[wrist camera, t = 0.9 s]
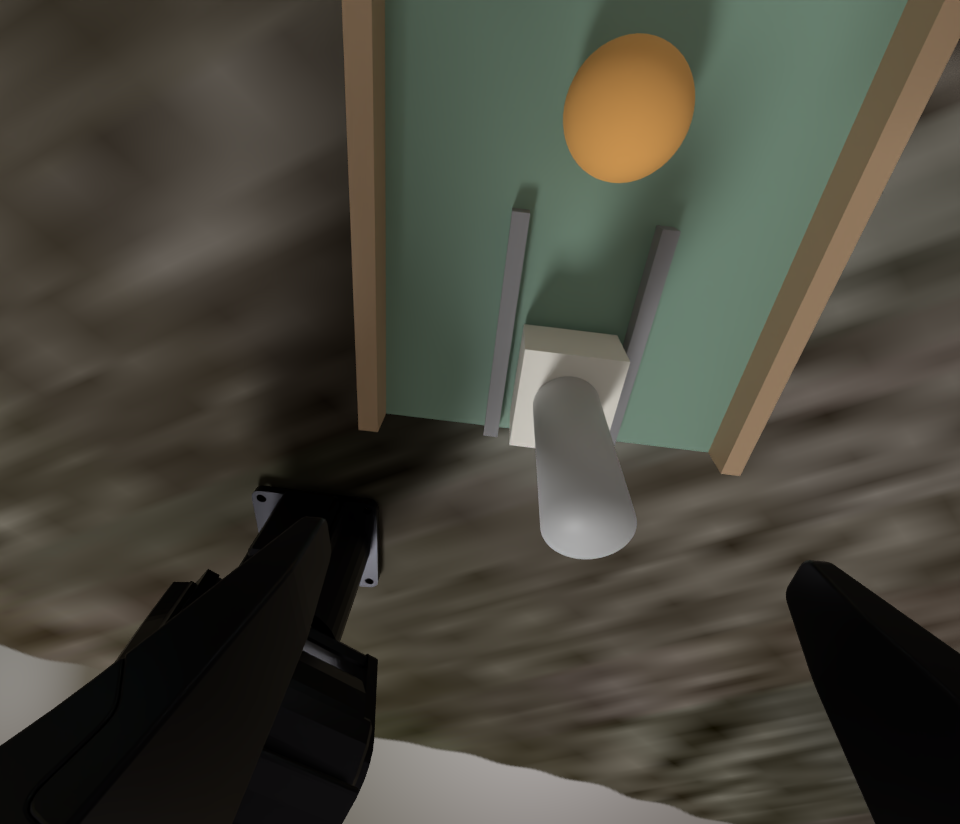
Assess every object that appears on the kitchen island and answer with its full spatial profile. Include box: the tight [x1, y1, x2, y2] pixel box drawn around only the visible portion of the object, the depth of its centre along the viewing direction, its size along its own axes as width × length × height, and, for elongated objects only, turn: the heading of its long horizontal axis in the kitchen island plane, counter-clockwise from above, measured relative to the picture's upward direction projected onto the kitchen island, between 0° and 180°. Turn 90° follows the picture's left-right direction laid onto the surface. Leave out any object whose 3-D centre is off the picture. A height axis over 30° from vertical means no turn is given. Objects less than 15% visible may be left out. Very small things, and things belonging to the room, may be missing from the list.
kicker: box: [509, 324, 637, 559], centre depth 16 cm, size 4×4×8 cm
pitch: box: [342, 0, 960, 476], centre depth 15 cm, size 22×16×2 cm
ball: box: [563, 33, 695, 183], centre depth 13 cm, size 4×4×4 cm
